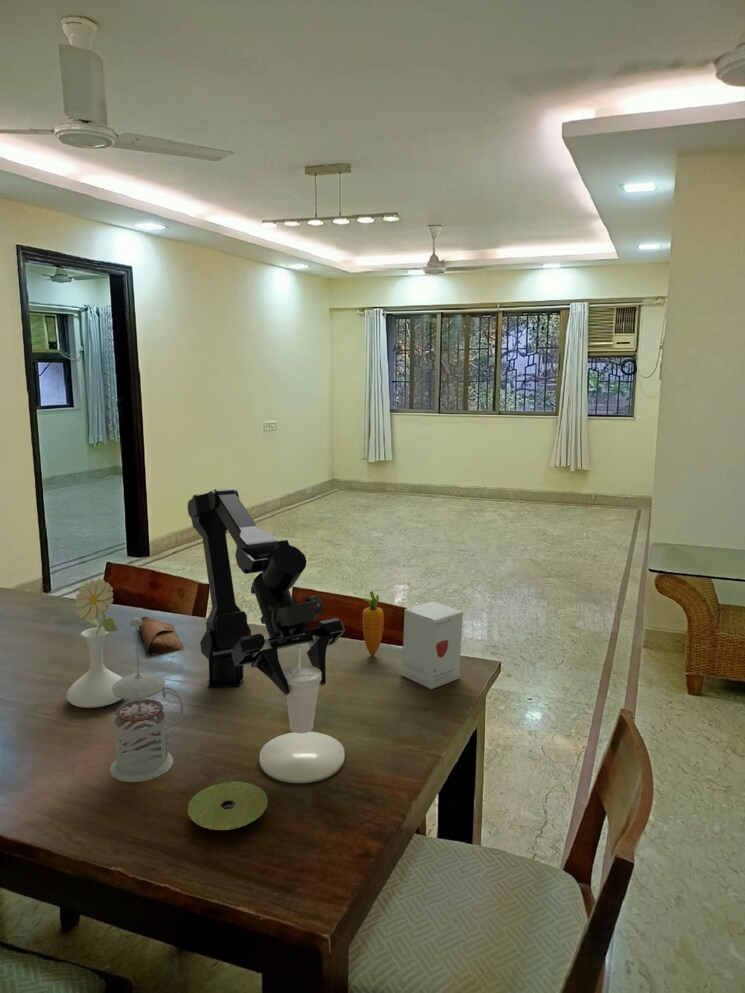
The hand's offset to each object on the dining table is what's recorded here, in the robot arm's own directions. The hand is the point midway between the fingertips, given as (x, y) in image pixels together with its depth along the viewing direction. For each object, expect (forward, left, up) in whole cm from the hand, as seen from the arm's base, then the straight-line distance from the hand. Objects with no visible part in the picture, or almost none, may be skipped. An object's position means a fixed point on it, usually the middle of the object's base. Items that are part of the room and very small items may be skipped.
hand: (306, 689), depth 111 cm
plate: (-1, +1, -13) cm, 13 cm away
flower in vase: (-39, +25, -13) cm, 48 cm away
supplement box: (+27, +30, -13) cm, 43 cm away
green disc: (-12, -13, -13) cm, 22 cm away
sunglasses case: (-33, +56, -13) cm, 66 cm away
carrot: (+16, +42, -13) cm, 47 cm away
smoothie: (-1, +1, -7) cm, 8 cm away
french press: (-26, +2, -13) cm, 29 cm away
